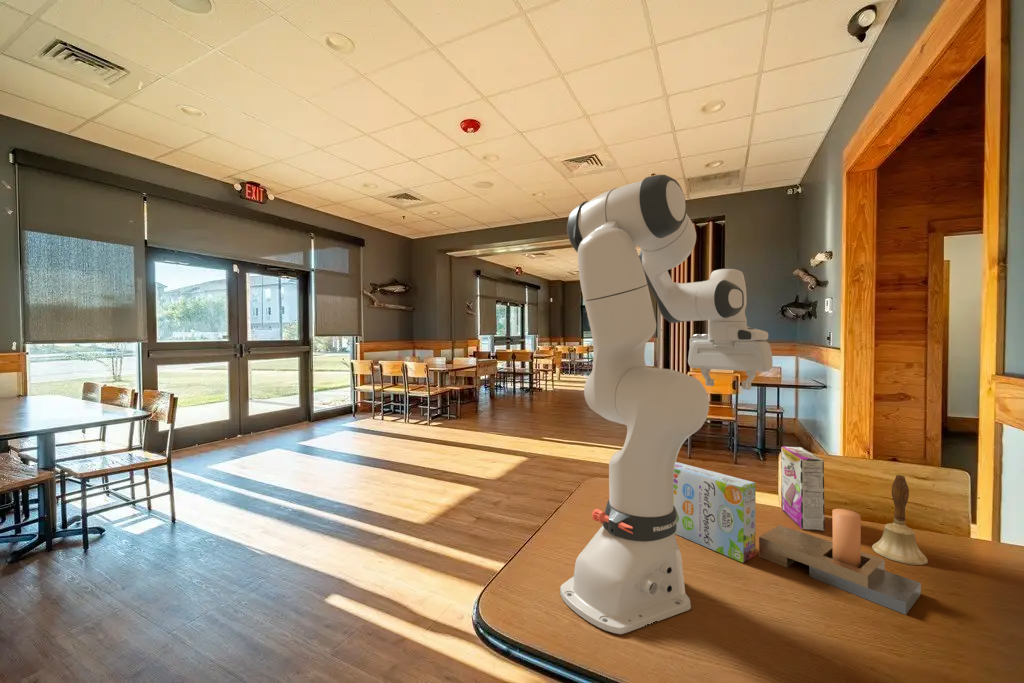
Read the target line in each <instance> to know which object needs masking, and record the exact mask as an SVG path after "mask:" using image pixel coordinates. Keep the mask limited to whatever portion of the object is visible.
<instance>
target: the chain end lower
mask: <svg viewBox="0 0 1024 683" xmlns="http://www.w3.org/2000/svg"><path fill="white" fill-rule="evenodd" d="M832 559H833V558H832ZM808 566H809V565H808ZM808 568H809V570H808V571H809V574H808V575H809V576H808V577H809V578H812V579H814V580H817V581H818V582H819V581H820V582H822V583H824V584H827V585H830V586H833V587H834V588H837V589H839V590H841V591H845V592H847V593H850V594H852V595H855V596H857V597H860V598H862V599H865V600H866V601H867V600H868V601H870V602H872V603H875V604H878V605H879V606H883V607H885V608H888V609H890V610H892V611H895V612H898V613H899V614H900V613H901V614H903V615H905V616H907V614H908V613H909V611H911V609H912V608H913V606H914V605H915V603H916V602H917V600H918V599H919V598H920V596H921V595H922V583H921V582H919V581H916V580H914V579H911V578H908V577H904V576H902V575H899V574H895V573H893V572H890V571H887V570H885V571H884V572H883V573H882V574H881V575H880V576H879V577H878V578H877V579H876V580H875V581H874V582H873V583H872V584H871V585H870V586H869V587H868V588H867V587H864V586H861V585H859V584H856V583H853V582H851V581H848V580H845V579H843V578H840V577H838V576H835V575H832V574H830V573H827V572H824V571H822V570H819V569H816V568H814V567H811V566H809V567H808Z"/></svg>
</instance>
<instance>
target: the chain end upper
mask: <svg viewBox="0 0 1024 683" xmlns="http://www.w3.org/2000/svg"><path fill="white" fill-rule="evenodd" d="M758 556H759V558H761V559H763V560H766V561H768V562H772V563H774V564H777V565H779V566H781V567H783V568H788V567H790V566H792V564H794V563H795V562H798V563H800V564H801V563H802V564H804V565H806V566H811V567H814V568H816V569H819V570H822V571H824V572H827V573H830V574H832V575H835V576H838V577H840V578H843V579H845V580H848V581H851V582H853V583H856V584H859V585H861V586H864V587H867V588H868V587H869V586H870V585H871V584H872V583H873V582H874V581H875V580H876V579H877V578H878V577H879V576H880V575H881V574H882V573H883V572H884V571H886V568H885V566H886V565H885V563H886V562H885V561H886V560H885V559H884V558H881V557H879V556H875V555H872V554H869V553H866V552H864V551H861V568H857V567H854V566H851V565H848V564H845V563H843V562H840V561H837V560H834V559H832V558H833V541H830V540H826V539H823V538H820V537H819V536H818V537H817V536H814V535H812V534H808V533H806V532H802V531H799V530H796V529H794V528H793V529H792V528H789V527H787V526H785V525H784V526H783V525H782V524H781V525H779V524H778V525H777V526H775V527H774V528H772V529H770V530H768V531H767V532H765V533H763V534H761V535H760V536H758Z"/></svg>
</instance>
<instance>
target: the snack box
mask: <svg viewBox="0 0 1024 683" xmlns="http://www.w3.org/2000/svg"><path fill="white" fill-rule="evenodd" d="M756 487H757V486H756V482H754V481H750V480H747V479H742V478H739V477H735V476H731V475H728V474H725V473H720V472H717V471H713V470H708V469H704V468H701V467H697V466H694V465H689V464H686V463H682V462H678V461H676V462H675V468H674V493H673V505H674V507H675V508H676V516H677V523H676V527H677V529H676V531H675V536H676V535H677V536H679V537H681V538H683V539H685V540H688V541H691V542H693V543H695V544H697V545H700V546H702V547H704V548H707V549H709V550H712V551H714V552H717V553H719V554H721V555H724V556H726V557H728V558H730V559H733V560H735V561H737V562H740V563H745V562H746V561H748V560H750V559H752V558H755V557H756V553H757V552H756V550H757V548H756V547H757V546H756V543H757V542H756V540H757V539H756V536H757V535H756V530H757V528H756V527H757V526H756V505H757V504H756V502H757V501H756V499H757V498H756V496H757V495H756V491H757V489H756Z"/></svg>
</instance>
